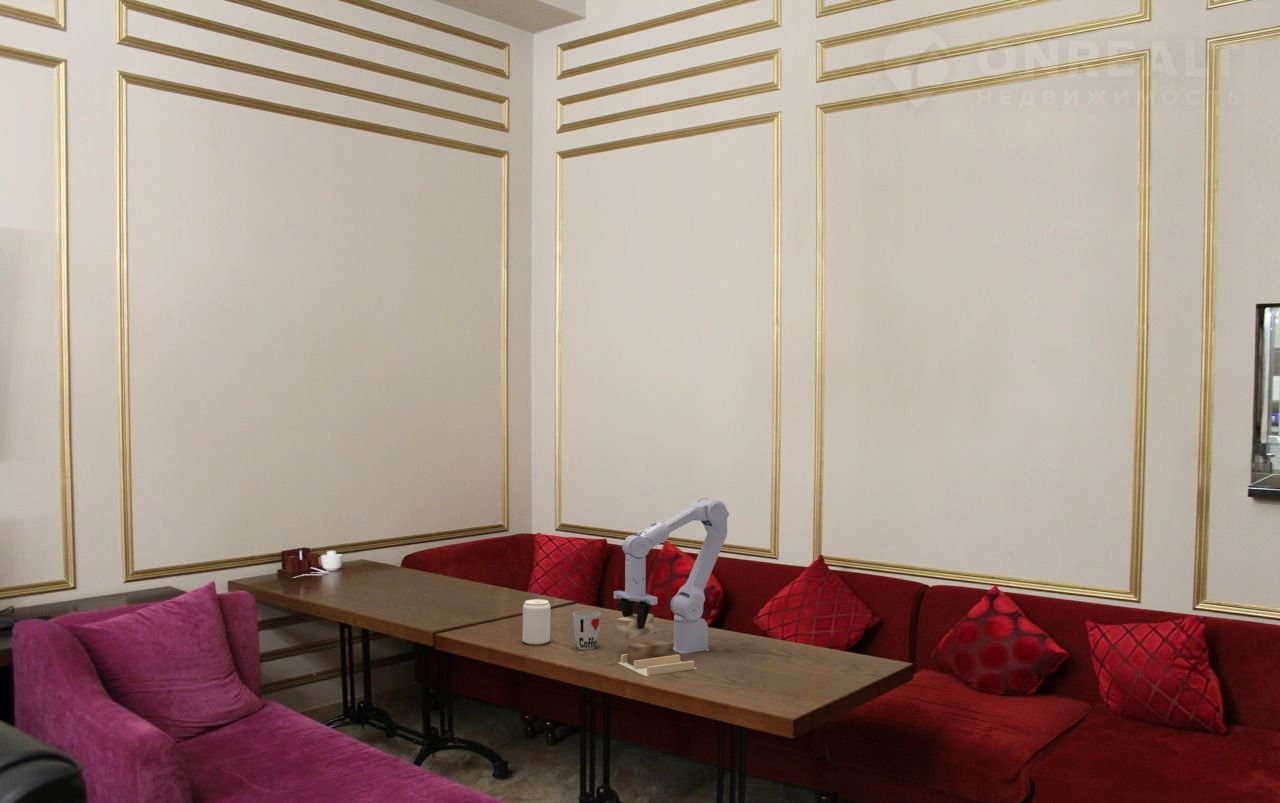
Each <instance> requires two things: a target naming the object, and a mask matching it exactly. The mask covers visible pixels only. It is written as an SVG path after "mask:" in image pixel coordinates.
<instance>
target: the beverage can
mask: <svg viewBox="0 0 1280 803" xmlns="http://www.w3.org/2000/svg"><path fill="white" fill-rule="evenodd" d="M550 640H551V604H550V601H549V600H547V599H543V598H542V599H539V598H536V599H533V598H532V599H527V600H525V601H524V603H523V606H522V642H524V643H526V644H527V645H533V646H534V645H535V646H539V645H545V644H547V643H549V642H550Z"/></svg>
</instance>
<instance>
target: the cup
mask: <svg viewBox="0 0 1280 803" xmlns="http://www.w3.org/2000/svg"><path fill="white" fill-rule="evenodd" d="M601 618H602V613H601V612H600V611H597V610H578V611H574V612H572V624H573V626H572V627H573V633H574V639H575V644H576V646H577V649H578V650H580V649H581V651H592V649H593V650H595V649H596V647H597V643H598V640H599V635H600V629H601V620H602V619H601Z"/></svg>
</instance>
